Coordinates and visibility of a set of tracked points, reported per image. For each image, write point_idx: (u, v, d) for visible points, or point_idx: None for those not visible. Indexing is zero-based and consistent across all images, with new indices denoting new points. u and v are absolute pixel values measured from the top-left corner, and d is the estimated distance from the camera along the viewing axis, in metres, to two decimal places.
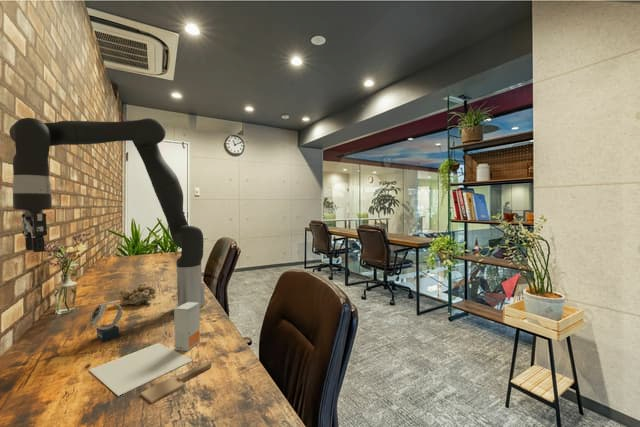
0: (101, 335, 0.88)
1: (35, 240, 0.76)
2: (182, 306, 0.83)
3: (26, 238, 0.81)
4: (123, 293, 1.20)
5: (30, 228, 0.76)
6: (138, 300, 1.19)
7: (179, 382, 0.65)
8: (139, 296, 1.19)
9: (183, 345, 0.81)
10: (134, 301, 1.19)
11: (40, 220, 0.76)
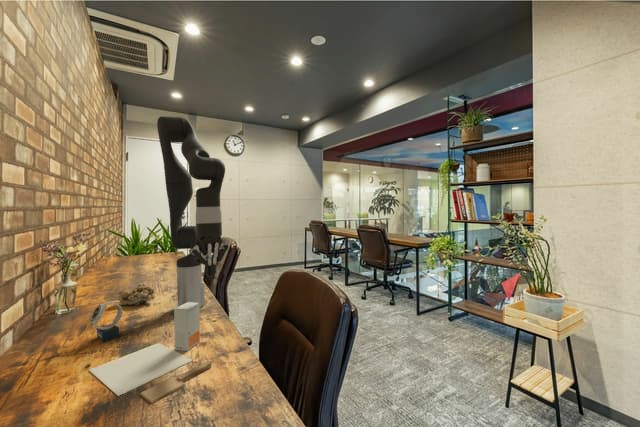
0: (101, 335, 0.88)
1: (214, 266, 0.91)
2: (182, 306, 0.83)
3: (211, 266, 0.89)
4: (122, 293, 1.20)
5: None
6: (137, 300, 1.19)
7: (179, 382, 0.65)
8: (138, 296, 1.19)
9: (183, 345, 0.81)
10: (133, 301, 1.19)
11: None
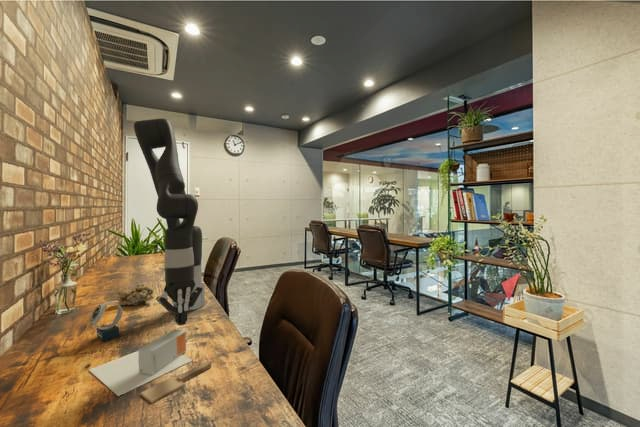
0: (101, 335, 0.88)
1: (186, 312, 0.83)
2: (142, 366, 0.70)
3: (182, 313, 0.81)
4: (121, 293, 1.20)
5: None
6: (136, 301, 1.19)
7: (179, 382, 0.65)
8: (137, 297, 1.18)
9: None
10: (132, 302, 1.18)
11: None
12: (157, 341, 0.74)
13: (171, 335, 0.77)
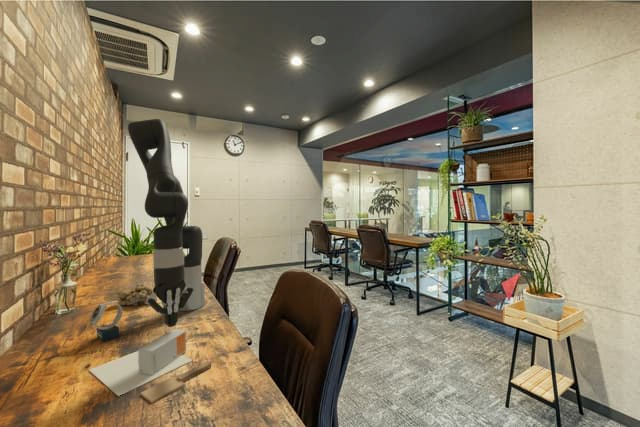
0: (101, 335, 0.88)
1: (176, 313, 0.80)
2: (142, 366, 0.70)
3: (172, 314, 0.79)
4: (120, 294, 1.20)
5: None
6: (135, 301, 1.19)
7: (179, 382, 0.65)
8: (136, 297, 1.18)
9: None
10: (131, 302, 1.18)
11: None
12: (157, 341, 0.74)
13: (171, 335, 0.77)
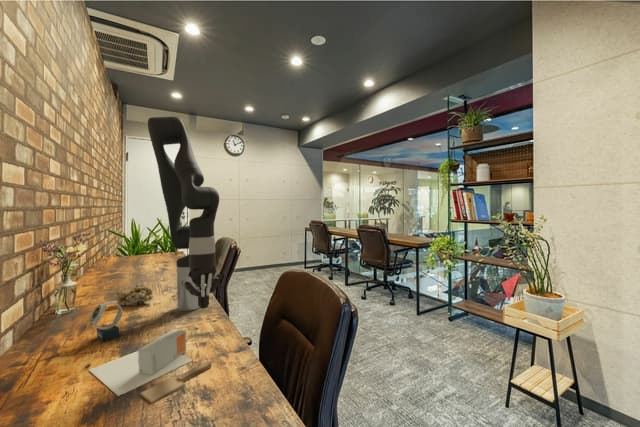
0: (101, 335, 0.88)
1: (208, 296, 0.89)
2: (142, 366, 0.70)
3: (204, 297, 0.88)
4: (120, 294, 1.19)
5: None
6: (135, 301, 1.18)
7: (179, 382, 0.65)
8: (136, 297, 1.18)
9: None
10: (131, 302, 1.18)
11: None
12: (157, 341, 0.74)
13: (171, 335, 0.77)
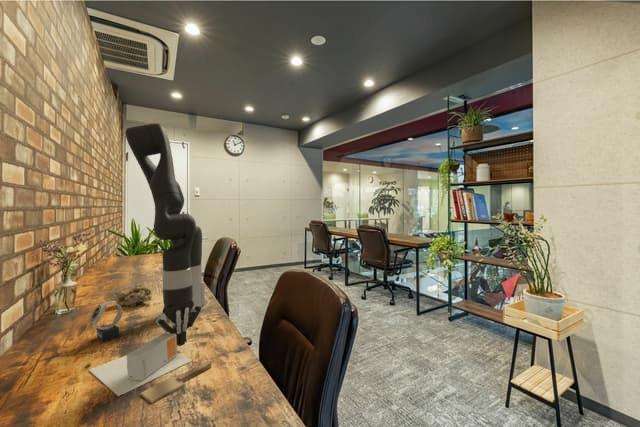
0: (101, 335, 0.88)
1: (185, 332, 0.82)
2: (131, 372, 0.67)
3: (181, 333, 0.81)
4: (118, 294, 1.19)
5: None
6: (133, 301, 1.18)
7: (179, 382, 0.65)
8: (134, 297, 1.18)
9: None
10: (129, 302, 1.18)
11: None
12: (146, 346, 0.71)
13: (160, 339, 0.75)
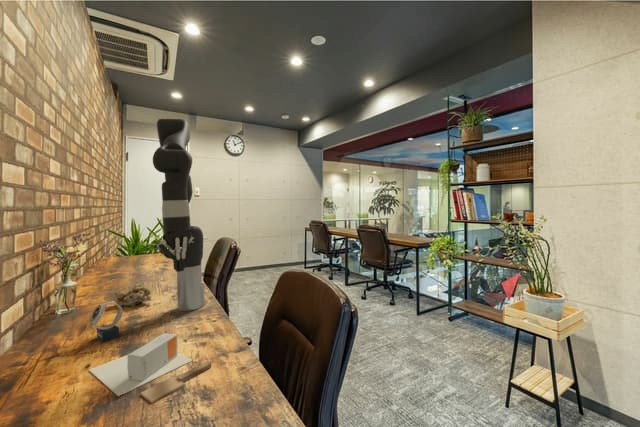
0: (101, 335, 0.88)
1: (183, 260, 0.89)
2: (131, 372, 0.67)
3: (180, 260, 0.88)
4: (118, 294, 1.19)
5: None
6: (133, 301, 1.18)
7: (179, 382, 0.65)
8: (134, 297, 1.18)
9: None
10: (129, 302, 1.18)
11: None
12: (147, 346, 0.71)
13: (161, 339, 0.75)
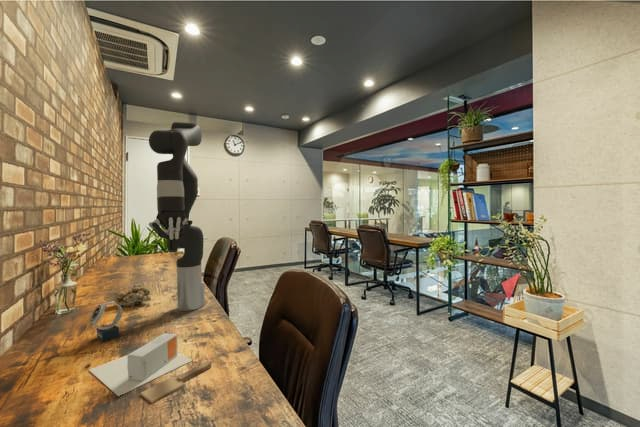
0: (101, 335, 0.88)
1: (177, 240, 0.90)
2: (131, 372, 0.67)
3: None
4: (117, 294, 1.19)
5: None
6: (132, 301, 1.18)
7: (179, 382, 0.65)
8: (133, 297, 1.17)
9: None
10: (128, 302, 1.17)
11: None
12: (147, 346, 0.71)
13: (161, 339, 0.75)
